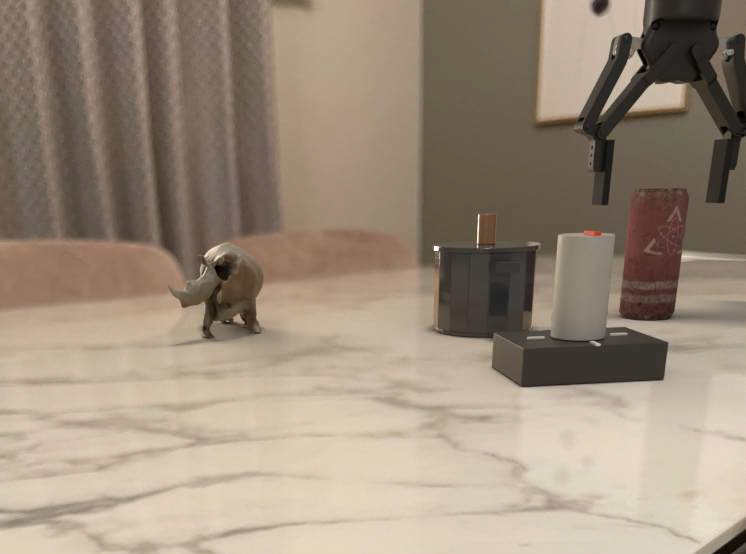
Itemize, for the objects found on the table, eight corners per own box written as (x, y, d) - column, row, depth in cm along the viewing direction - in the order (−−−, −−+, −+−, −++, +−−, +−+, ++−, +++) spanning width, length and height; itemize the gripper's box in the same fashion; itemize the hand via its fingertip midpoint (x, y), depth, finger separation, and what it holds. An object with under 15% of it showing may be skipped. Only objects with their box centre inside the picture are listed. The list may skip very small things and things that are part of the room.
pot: (506, 316, 101) (510, 242, 98) (554, 339, 87) (561, 253, 83) (419, 320, 100) (420, 245, 97) (453, 343, 85) (456, 256, 82)
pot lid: (519, 249, 96) (522, 210, 95) (556, 257, 86) (559, 214, 84) (421, 252, 95) (422, 213, 93) (446, 261, 84) (447, 217, 83)
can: (678, 314, 100) (695, 186, 95) (667, 321, 95) (684, 187, 90) (626, 311, 103) (639, 187, 98) (613, 318, 98) (626, 188, 93)
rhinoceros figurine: (283, 295, 103) (252, 189, 91) (275, 380, 96) (241, 278, 84) (221, 302, 104) (182, 198, 92) (209, 386, 97) (165, 286, 85)
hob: (619, 360, 76) (623, 324, 75) (665, 380, 68) (671, 340, 67) (490, 366, 75) (492, 329, 74) (522, 387, 67) (525, 347, 66)
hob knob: (542, 333, 72) (550, 229, 69) (591, 331, 73) (601, 228, 69) (562, 341, 68) (571, 232, 65) (614, 339, 69) (625, 231, 65)
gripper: (777, -11, 91) (742, 201, 99) (555, -14, 88) (538, 204, 97) (822, -26, 84) (781, 202, 93) (583, -30, 81) (563, 206, 90)
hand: (657, 204), depth 95 cm, fingers open, 13 cm apart
